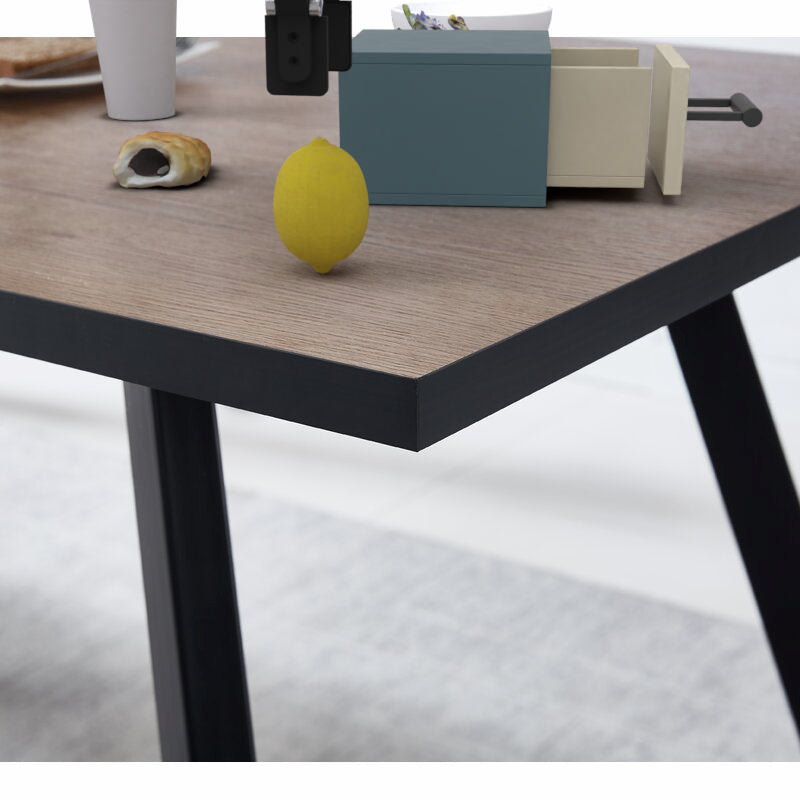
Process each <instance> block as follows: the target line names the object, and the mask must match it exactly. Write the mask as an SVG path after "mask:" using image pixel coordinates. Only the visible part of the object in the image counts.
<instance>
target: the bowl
mask: <svg viewBox="0 0 800 800" xmlns="http://www.w3.org/2000/svg"><path fill="white" fill-rule="evenodd" d="M403 4H404V3H401V4H397V5H393V6H391V7H390V15H391V16H390V17H391V22H392V26H393V29H398V28H399V27H400V29H403V30H413V29H412V27H411V26H410V25H409V22H408V20H407V18H406V16H405V14H404V11H403V7H402V5H403ZM406 4H407V5H408V6H409V9H410V12H411V13H414V14H415V15H416V14H417V13H418V14H419V15H420V14H421V11H424V14H425V15H426V17H427V16H429V17H430V19H431V20H432V19H434V18H436V22H437V24H441V25H443V27H444V28H446V29H447V30H454V29H453V28H452V27H451V26H450V24H449V23H448V18H450V16H451V15H452V14H454V15H455V16H456V19H457V17H458V16H461V17H462V18H463V19H464V22H465V24H466V26H467V28H468V29H469V30H548V31H549V28H550V25H551V23H552V18H553V17H552V16H553V8H552V6H549V5H545V4H540V3H534V2H533V3H532V2H522V1H504V0H436V1H418V2H409V3H406Z"/></svg>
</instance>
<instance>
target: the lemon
mask: <svg viewBox="0 0 800 800" xmlns="http://www.w3.org/2000/svg"><path fill="white" fill-rule="evenodd" d="M272 203H273V204H272V211H273V219H274V225H275V228H276V232H277V234H278V236H279V238H280V239H279V240H280V241H281V243H282V244H283V246H284V247H285V248H286V250H287V251H288V252H289V253H290V254H291V255H292V256H294V257H295V258H297V259H299V260H300V261H302V262H305V263H307V264H309V265H310V266H311V267H312V268H313V269H314V270H315V272H316V273H319V274H327V273H329V272H330V271H331V270H332V268H334V266H335V265H336V264H337V263H339V262H341V261H343V260H345V259H347V258H349V257H351V255H352V254H353V253H354V252H355V251H356V250H357V249H358V247H359V246H360V245H361V243H362V241H363V240H364V237H365V235H366V232H367V229H368V224H369V218H370V217H369V216H370V204H369V200H368V193H367V187H366V183H365V179H364V176H363V173H362V171H361V169H360V167H359V165H358V163H357V162H356V161H355V159H354V158H353V157H352V156H351V155H350V154H348V153H347V152H346V151H344V150H343V149H341V148H340V146H337V145H335V144H332V143H330V142H329V140H328V139H326V137H320V136H318V137H314V138H312V140H311V141H310V142H309V143H308V144H304V145H303V146H301V147H299V148H297V149H296V150H295V151H293V152H292V153H291V154H290V155H289V156H288V157H287V159H285V161H284V162H283V164H282V165H281V167H280V168H279V172H278V174H277V177H276V180H275V185H274V191H273V199H272Z"/></svg>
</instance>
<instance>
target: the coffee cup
mask: <svg viewBox="0 0 800 800" xmlns="http://www.w3.org/2000/svg"><path fill="white" fill-rule="evenodd" d="M88 4H89V5H88V6H89V10H90V11H89V12H90V17H91V21H92V27H93V33H94V39H95V45H96V51H97V56H98V63H99V69H100V75H101V79H102V85H103V86H102V87H103V92H104V98H105V103H106V110H107V115H108V117H109V118H110V119H114V120H121V121H152V120H160V119H166V118H171V117H173V116H175V115H176V78H177V77H176V76H177V74H176V71H177V21H178V20H177V15H178V14H177V13H178V12H177V11H178V0H88Z"/></svg>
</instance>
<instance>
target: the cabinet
mask: <svg viewBox="0 0 800 800" xmlns="http://www.w3.org/2000/svg"><path fill="white" fill-rule="evenodd" d="M551 47H552V46H551V40H550V32H549V29H548V30H397V29H394V28H392V29H391V28H390V29H387V28H386V29H383V28H381V29H379V28H378V29H377V28H376V29H375V28H374V29H373V28H369V29H368V28H364V29H361V30H360V31H359V32H358V33H357V34H356V35H355V36H354V37H352V67H351V68H350V69H349V70H348V71H346V72H337V77H338V78H337V80H338V81H337V82H338V85H337V86H338V129H339V130H338V132H339V147H340V148H341V149H343V150H344V151H346V152H347V153H348V154H350V155H351V156H352V157H353V158H354V159H355V161H356V162H357V163H358V165H359V167H360V169H361V171H362V173H363V176H364V179H365V183H366V187H367V193H368V200H369V205H392V206H393V205H395V206H397V205H398V206H452V207H504V208H507V207H510V208H546V207H547V187H548V186H547V160H548V134H549V109H550V83H551V57H552V54H551Z"/></svg>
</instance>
